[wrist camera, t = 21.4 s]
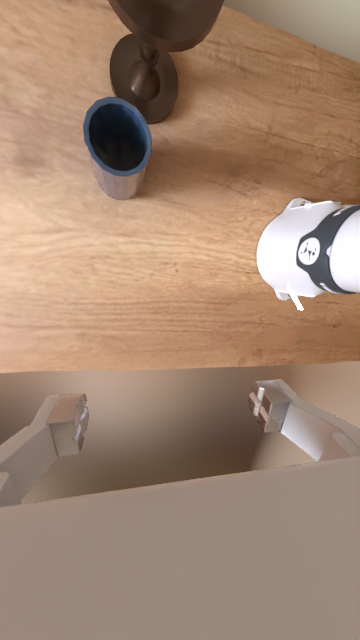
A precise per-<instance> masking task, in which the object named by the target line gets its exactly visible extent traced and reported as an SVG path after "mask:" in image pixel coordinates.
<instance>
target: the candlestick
mask: <svg viewBox="0 0 360 640" xmlns="http://www.w3.org/2000/svg"><path fill="white" fill-rule="evenodd" d="M108 1H109V3H110V5H111V7H112V8H113V10H114V11H115V13H116V14H117V16H118V17H119V18H120V20H121V21H122V23H123V24H124V25H125V26H126V27H127V28H128V29H129V30H130V31H131V32H132V34H129V35H126V36H125V37H123V38H122V39H120V41H119V42H118V43H117V44H116V46H115V48H114V50H113V52H112V55H111V59H110V79H111V85H112V89H113V92H114V95H115V97H116V98H121V99H124V100H126V101H127V102H129V103H130V104H132V105H133V106H135V107H136V108H137V109H138V110H139V112H140V113H141V114H142V116H143V117H144V118H145V120H146V122H147V124H155V123H158V122H161V121H162V120H164V119H165V118H166V117H167V116H168V115H169V114H170V112H171V111H172V109H173V107H174V104H175V101H176V98H177V92H178V78H177V72H176V69H175V66H174V63H173V61H172V59H171V57H170V55H169V53H168V52H182V51H185V50H188V49H191V48H193V47H194V46H196V45H197V44H199V43H200V42H202V41H203V39H204V38H205V37H206V36H207V35H208V34H209V32H210V31H211V29H212V27H213V25H214V23H215V22H216V20H217V17H218V15H219V12H220V10H221V7H222V4H223V1H224V0H108Z"/></svg>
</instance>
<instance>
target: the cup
mask: <svg viewBox="0 0 360 640" xmlns="http://www.w3.org/2000/svg"><path fill="white" fill-rule="evenodd" d="M83 131H84V141H85V145H86V148H87V151H88V154H89V157H90V161H91V164H92V167H93V170H94V173H95V176H96V179H97V181H98V184H99V185H100V187H101V189H102V190H103V191H104V192H105V193H106V194H107V195H108V196H110V197H112V198H114V199H117V200H128V199H130V198H132V197H134V196H135V195H136V194H137V193H138V191H139V190H140V187H141V184H142V181H143V178H144V175H145V171H146V168H147V165H148V161H149V158H150V155H151V151H152V138H151V133H150V130H149V127H148V124H147V122H146V120H145V118H144V117H143V116H142V114H141V113H140V112H139V110H138V109H137V108H136V107H135V106H133V105H132V104H130V103H129V102H127V101H126V100H124V99H121V98H115V97H106V98H103V99H100V100H97V101H96V102H95V103H94V104H93V105H92V106H91V107H90V109H89V110H88V111H87V113H86V117H85V120H84V124H83Z"/></svg>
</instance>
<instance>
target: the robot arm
mask: <svg viewBox="0 0 360 640" xmlns="http://www.w3.org/2000/svg"><path fill="white" fill-rule="evenodd" d="M257 266H258V270H259V272H260V275H261V276H262V278H263V279H264V281H265V282H266V283H267V284H269V285H270V286H271V287H272V288H273V289H274V291H275V293H276V295H277V297H278V298H279V299H280V300H289V299H293V300H294V302H295V304H296V306H297V308H298V309H300V310H303V308H302V306H301V304H300V302H299V300H298V298H297V297H299V296H307V297H315V296H316V295H320V294H323V293H326V292H328V291H329V292H332V293H338V294H342V293H343V294H355V293H360V204H356V205H341V202H333V201H325V202H319V203H313V202H310V201H308V200H305V199H302V198H295V199H293V200H291V201H290V203H289V204H288V206H287V207H286V209H285V210H284V212H283V213H282V214H280V215H279V216H278V217H276V218H275V219H274V220H272V221H271V222H270V223H269V225H268V226H267V227H266V228H265V230H264V232H263V233H262V235H261V238H260V240H259V243H258V248H257ZM288 293H289V294H288ZM251 388H252V390H253V392H252V393H251V394H250V395H249V406H250V409H251V411H252V413H253V414H254V415H255V416H257V417H258V423H259V425H260V427H261V428H262V430H263V432H264V433H267V432H279V431H281V433H282V434H283V435H285V436H286V437H287V438H289V439H290V440H291V441H292V442H294V443H295V444H296V445H297V446H299V447H300V448H301V449H303V450H304V451H305V452H306V453H308V454H309V455H310V456H311V457H313V458H314V459H315V460H316V461H318V462H312V463H305V464H298V465H291V466H284V467H277V468H270V469H263V470H256V471H249V472H242V473H235V474H229V475H221V476H214V477H207V478H200V479H193V480H186V481H179V482H172V483H166V484H158V485H151V486H145V487H137V488H131V489H123V490H116V491H109V492H102V493H95V494H89V495H81V496H75V497H68V498H61V499H54V500H47V501H40V502H33V503H26V504H21V502H20V501H21V499H22V498H23V497H24V496H25V495H26V494H27V493H28V491H29V490H30V489H31V488H32V487H33V486H34V485H35V483H36V482H37V481H38V480H39V479H40V478H41V477H42V476H43V474H44V473H45V472H46V471H47V470H48V469H49V467H50V466H51V465H52V464H53V463H54V462H55V461H56V460H57V458H58V457H60V456H67V455H74V454H80V451H81V448H82V444H83V440H84V437H83V433H84V432H85V431H86V429H87V426H88V418H89V414H88V408H87V407H86V406H85V404H86V401H87V400H86V395H85V394H70V395H53V396H48V397H47V398H46V399H45V401H44V403H43V404H42V406H41V408H40V410H39V412H38V413H37V415H36V417H35V419H34V420H33V422H32V424H31V426H26V427H25V428H23V429H22V430H21V431H19V432H18V433H17V434H15V435H14V436H12V437H11V438H10V439H8V440H7V441H6V442H4V443H3V444H1V445H0V640H360V428H358V427H356V426H354V425H352V424H350V423H348V422H346V421H344V420H342V419H340V418H338V417H336V416H334V415H332V414H330V413H328V412H326V411H324V410H322V409H320V408H318V407H316V406H314V405H313V404H311V403H308V402H306V401H302V400H301V399H300V398H299V397H298V396H297V395H296V394H295V392H294V391H293V390H292V389H291V388H290V387H289V386H288V385H287V384H286V383H285V382H284V381H283V380H281V379H277V380H268V381H256V382H253V383H252V386H251Z"/></svg>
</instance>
